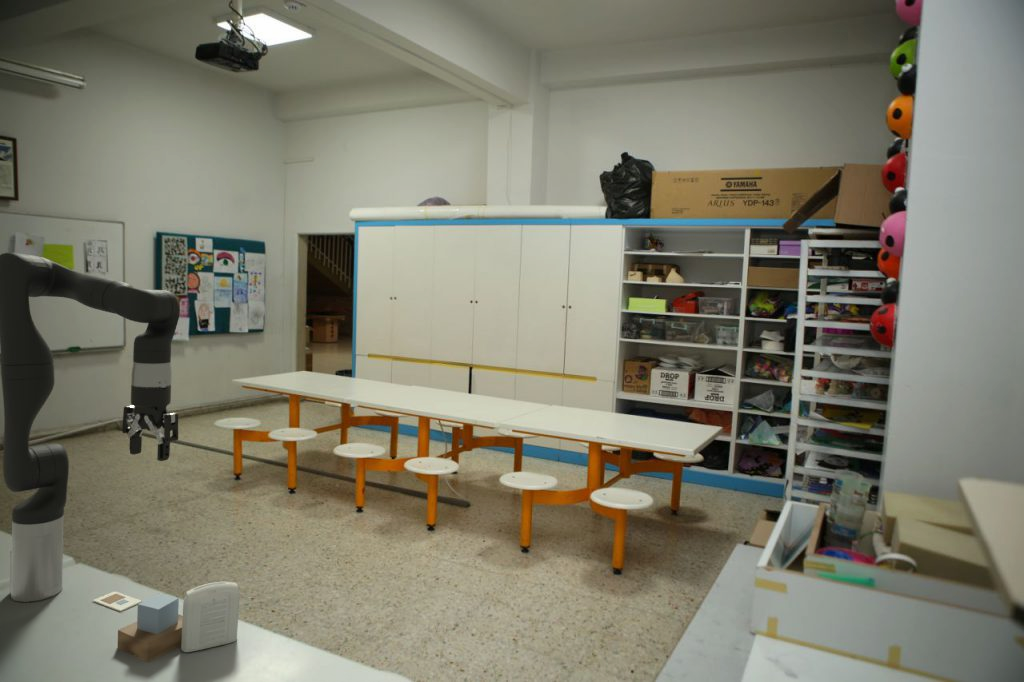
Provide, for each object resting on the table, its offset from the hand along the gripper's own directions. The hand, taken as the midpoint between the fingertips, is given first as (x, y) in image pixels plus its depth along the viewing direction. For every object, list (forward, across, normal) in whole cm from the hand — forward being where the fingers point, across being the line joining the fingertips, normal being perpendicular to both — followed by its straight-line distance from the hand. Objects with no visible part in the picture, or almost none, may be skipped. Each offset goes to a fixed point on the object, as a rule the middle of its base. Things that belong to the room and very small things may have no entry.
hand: (149, 457), depth 139 cm
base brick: (+34, +15, -9) cm, 38 cm away
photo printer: (+33, +24, -4) cm, 41 cm away
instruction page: (+33, -6, -2) cm, 34 cm away
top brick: (+30, +15, -9) cm, 34 cm away
